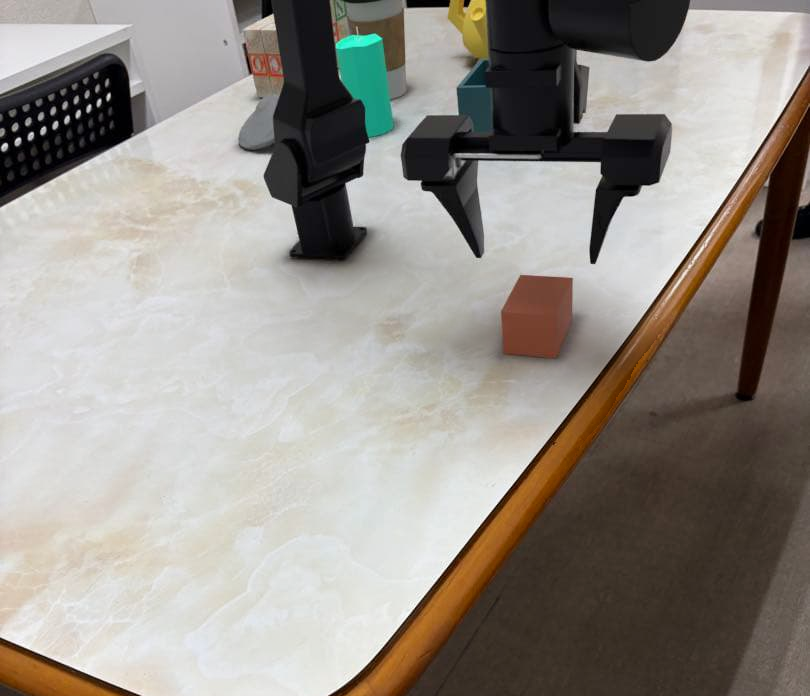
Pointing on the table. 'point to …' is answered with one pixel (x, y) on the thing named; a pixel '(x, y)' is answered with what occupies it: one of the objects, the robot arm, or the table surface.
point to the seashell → (259, 125)
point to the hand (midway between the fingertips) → (535, 258)
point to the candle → (367, 79)
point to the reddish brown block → (537, 316)
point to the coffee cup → (383, 35)
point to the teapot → (471, 26)
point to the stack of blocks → (267, 52)
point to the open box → (476, 97)
